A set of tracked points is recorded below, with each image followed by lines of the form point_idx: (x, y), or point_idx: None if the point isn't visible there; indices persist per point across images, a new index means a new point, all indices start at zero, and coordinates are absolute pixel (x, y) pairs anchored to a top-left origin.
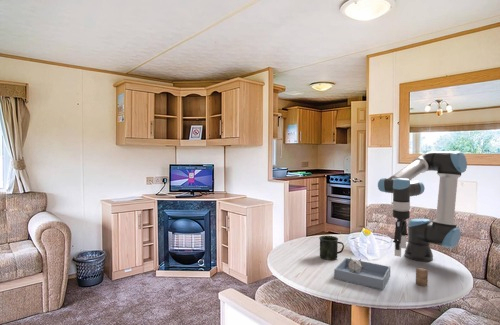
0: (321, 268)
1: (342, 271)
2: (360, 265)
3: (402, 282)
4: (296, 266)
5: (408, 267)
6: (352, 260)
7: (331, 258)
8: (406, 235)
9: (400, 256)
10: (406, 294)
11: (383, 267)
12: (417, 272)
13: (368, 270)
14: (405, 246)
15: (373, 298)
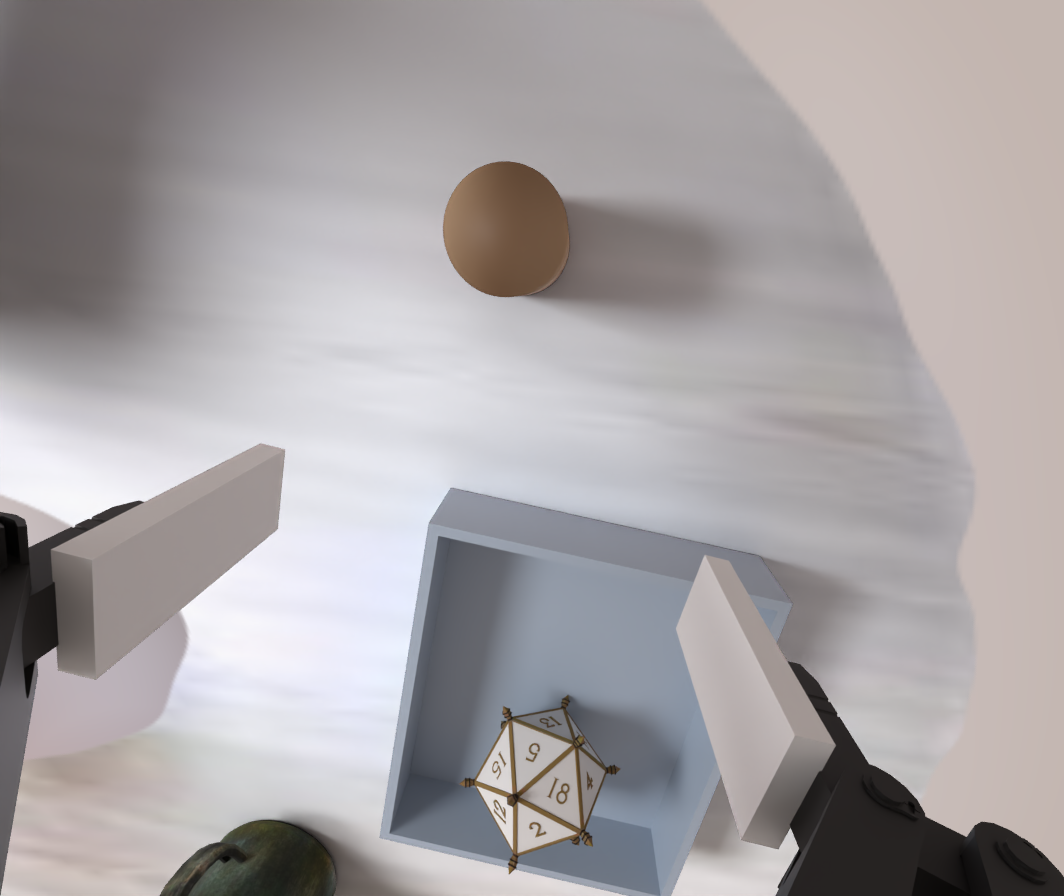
0: (505, 892)
1: (684, 857)
2: (566, 769)
3: (548, 404)
4: None
5: (166, 320)
6: (540, 848)
7: (322, 862)
8: (27, 547)
9: (728, 565)
10: (786, 395)
11: (435, 569)
12: (541, 285)
13: (432, 642)
14: (261, 466)
15: (913, 620)
